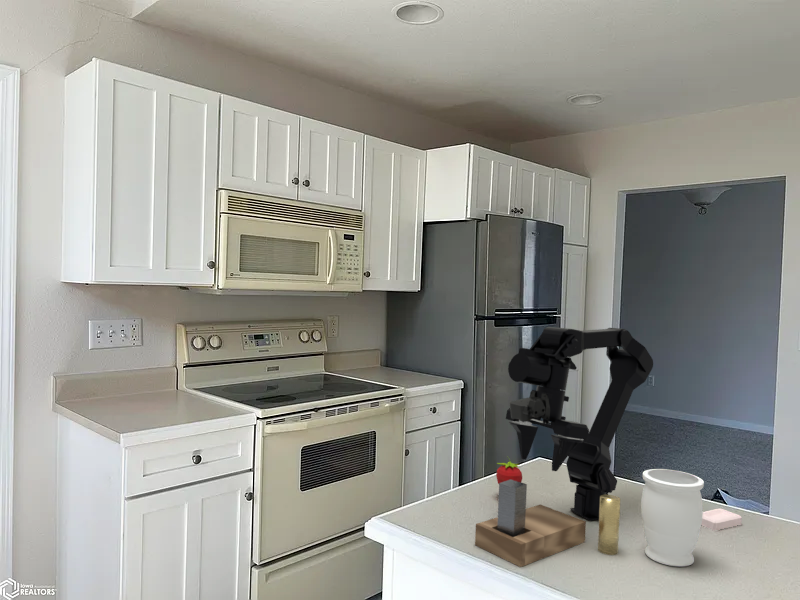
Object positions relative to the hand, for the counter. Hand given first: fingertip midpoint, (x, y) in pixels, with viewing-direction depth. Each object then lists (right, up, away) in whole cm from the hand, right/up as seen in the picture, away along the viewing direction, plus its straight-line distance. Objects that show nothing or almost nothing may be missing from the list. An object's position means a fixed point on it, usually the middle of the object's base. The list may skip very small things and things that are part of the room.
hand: (538, 464), depth 124 cm
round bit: (+11, -14, -9) cm, 20 cm away
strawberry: (-3, -13, +18) cm, 22 cm away
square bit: (-8, -13, -11) cm, 18 cm away
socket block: (-3, -13, -7) cm, 15 cm away
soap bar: (+40, -15, +7) cm, 43 cm away
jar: (+22, -14, -11) cm, 28 cm away
